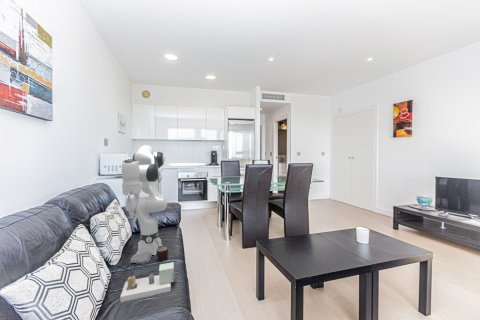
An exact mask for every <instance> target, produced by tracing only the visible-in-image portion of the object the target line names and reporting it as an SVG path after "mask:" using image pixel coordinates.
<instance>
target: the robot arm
mask: <svg viewBox="0 0 480 320" xmlns="http://www.w3.org/2000/svg"><path fill="white" fill-rule="evenodd" d="M165 159H166V158H165V155H164V153H163V152H161V151H154V149H153V147H152V146H151V145H149V144H144V145H141V146H140V147H138V148H137V149H136V152H135V153H134V154H132V158H131V159H125V160H123V161H122V164H121V179H122V185H121V186H122V195H124V196H125V211H126V212H128V214H129V215H128V216H129V219H130V220H132V219H134V218H135V217H136V219H137V220H138V222H139V228H140V234H139V241H138V243H137V245H138V247H137V251H136V252H135V254H142V253H145V252H151V253H152V255H154V256H157V255H156V254H157V253H156V251H157V248H158V244H159V246H164V245H163V243H162V239H161V238H160V234H159V228H158V226H159V225H158V220H157V219H156V218H155V217H153V216H151V215H150V213H158V212H160V213H161V212H163V211H165V210H166V209H167V207H168V200H167V199H166V197H165V196H163V195H162V194H161V193H160V191H159V186H158V184H159V183H158V181H159V178H160V174H161V170H160V168H161V167H162V166H163V165H164V163H165V161H166V160H165ZM142 192H143V193H145V194H147V195H148V196H141V197H140V194H141V193H142ZM153 239H155V240H157V241H158V244H157V242H156V241H155V240H153Z"/></svg>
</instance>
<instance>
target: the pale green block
mask: <svg viewBox="0 0 480 320" xmlns="http://www.w3.org/2000/svg"><path fill="white" fill-rule="evenodd" d="M174 263H175V262H174V261H172V262H167V263H161V264H159V268H158V275H159V278H160V284H165V283H170V282H171V283H173V282H175V266H174V265H175V264H174Z"/></svg>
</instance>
